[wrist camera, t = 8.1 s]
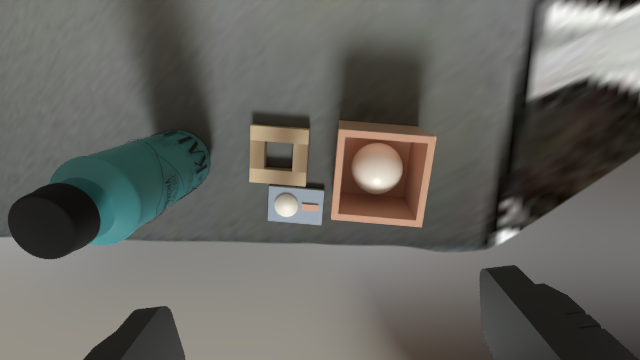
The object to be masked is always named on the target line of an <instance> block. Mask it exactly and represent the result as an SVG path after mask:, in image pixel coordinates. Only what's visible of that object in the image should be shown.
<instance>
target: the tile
mask: <svg viewBox="0 0 640 360" xmlns="http://www.w3.org/2000/svg"><path fill="white" fill-rule="evenodd" d="M323 200H324V189H315V188H303V187H291V186H280V185H269V200H268V221H279V222H291V223H302V224H314V225H321V224H322V213H323Z"/></svg>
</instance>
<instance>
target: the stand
mask: <svg viewBox="0 0 640 360" xmlns="http://www.w3.org/2000/svg"><path fill="white" fill-rule="evenodd" d="M309 137H310V129H309V128H297V127H284V126H272V125H260V124H252V125H250V178H249V182H257V183H269V184H281V185H293V186H304V187H306V183H307V168H308V153H309ZM267 141H269V142H281V143H293V144H294V147H293V166H292V169H288V168H276V167H266V153H267Z"/></svg>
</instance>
